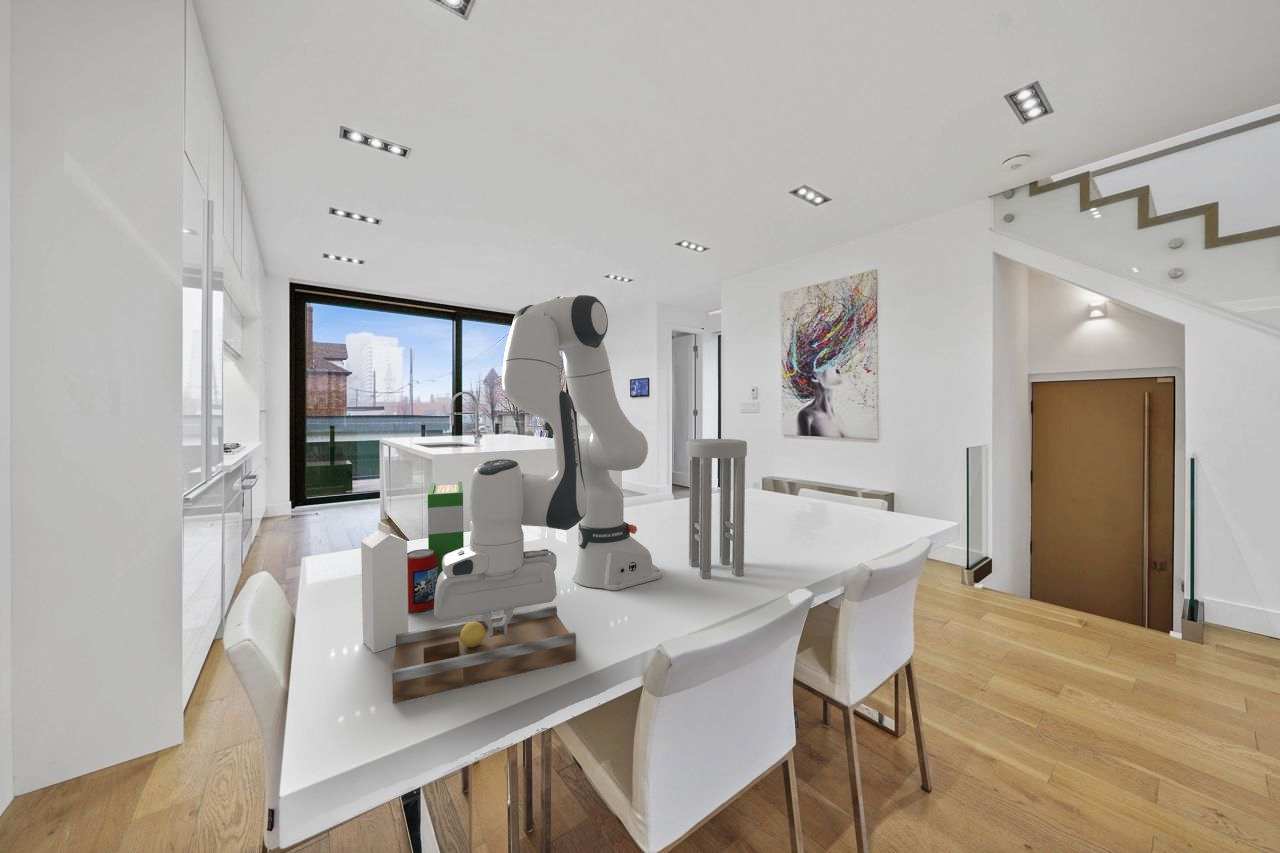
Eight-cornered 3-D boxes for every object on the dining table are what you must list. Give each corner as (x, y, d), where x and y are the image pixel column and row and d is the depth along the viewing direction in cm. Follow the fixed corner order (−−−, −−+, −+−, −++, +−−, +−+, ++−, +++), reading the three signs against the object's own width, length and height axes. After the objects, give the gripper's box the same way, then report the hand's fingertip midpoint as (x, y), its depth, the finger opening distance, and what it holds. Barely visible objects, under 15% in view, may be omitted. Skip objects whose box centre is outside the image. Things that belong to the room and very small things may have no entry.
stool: (697, 582, 118) (698, 442, 116) (679, 562, 133) (680, 438, 132) (754, 578, 121) (756, 442, 120) (731, 559, 136) (732, 438, 135)
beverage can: (424, 615, 98) (423, 558, 98) (396, 612, 100) (395, 556, 99) (444, 602, 105) (443, 549, 105) (417, 599, 106) (416, 547, 106)
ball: (464, 645, 81) (487, 633, 83) (466, 656, 78) (490, 643, 79) (455, 625, 80) (478, 613, 82) (457, 635, 77) (481, 622, 78)
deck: (555, 628, 93) (555, 605, 93) (576, 660, 81) (576, 634, 81) (396, 660, 81) (395, 634, 81) (392, 703, 69) (392, 673, 69)
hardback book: (432, 574, 123) (431, 482, 122) (462, 571, 125) (461, 481, 124) (429, 600, 106) (427, 494, 105) (464, 595, 109) (463, 492, 108)
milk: (396, 631, 91) (395, 518, 91) (409, 642, 87) (408, 523, 87) (361, 642, 87) (360, 524, 86) (373, 654, 83) (371, 529, 82)
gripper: (551, 543, 88) (551, 615, 89) (432, 557, 79) (433, 638, 80) (561, 552, 83) (561, 630, 83) (434, 568, 74) (435, 655, 74)
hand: (497, 634), depth 81 cm, fingers closed
